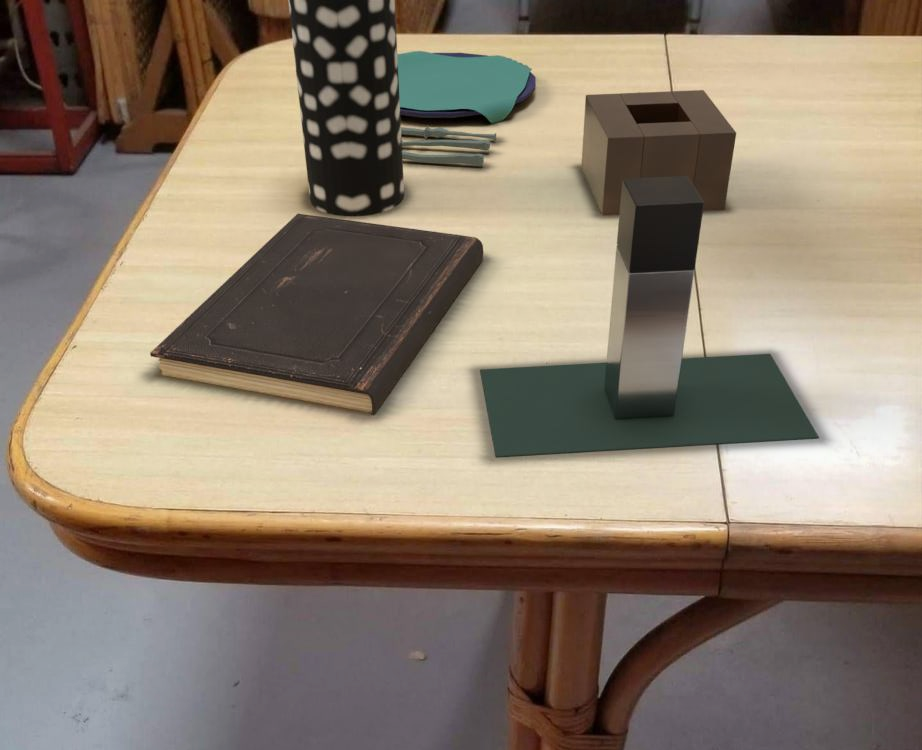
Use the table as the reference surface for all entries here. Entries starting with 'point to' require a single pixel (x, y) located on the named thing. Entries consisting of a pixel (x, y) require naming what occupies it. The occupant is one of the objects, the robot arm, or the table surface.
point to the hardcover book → (324, 312)
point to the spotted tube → (349, 103)
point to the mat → (595, 429)
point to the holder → (656, 144)
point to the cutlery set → (458, 96)
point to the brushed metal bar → (651, 294)
